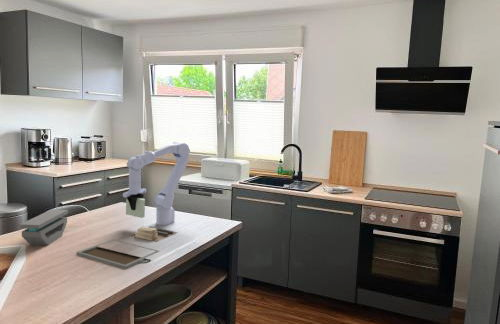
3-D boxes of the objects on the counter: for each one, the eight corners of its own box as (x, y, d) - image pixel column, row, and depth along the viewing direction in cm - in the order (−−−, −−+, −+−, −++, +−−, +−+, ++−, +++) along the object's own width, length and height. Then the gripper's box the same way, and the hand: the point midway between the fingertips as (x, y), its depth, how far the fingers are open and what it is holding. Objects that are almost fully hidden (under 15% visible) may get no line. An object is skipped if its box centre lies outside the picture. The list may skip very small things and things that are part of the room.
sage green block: (128, 213, 190) (129, 195, 189) (144, 217, 186) (145, 199, 185) (125, 214, 189) (126, 196, 187) (141, 217, 185) (142, 199, 183)
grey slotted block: (52, 231, 182) (51, 209, 180) (68, 232, 182) (68, 209, 180) (20, 250, 157) (19, 224, 156) (39, 250, 157) (38, 225, 156)
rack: (151, 229, 190) (151, 224, 190) (178, 234, 183) (178, 230, 183) (128, 238, 176) (128, 233, 176) (156, 244, 169) (156, 239, 169)
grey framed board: (113, 239, 171) (165, 252, 157) (113, 242, 171) (165, 255, 157) (76, 252, 154) (131, 267, 140) (76, 255, 154) (131, 272, 140)
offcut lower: (142, 234, 179) (142, 230, 179) (157, 237, 175) (157, 233, 175) (135, 236, 175) (135, 232, 175) (150, 240, 171) (150, 235, 171)
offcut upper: (142, 230, 178) (142, 226, 177) (156, 233, 175) (156, 228, 175) (137, 233, 174) (137, 229, 174) (151, 235, 171) (151, 231, 171)
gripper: (130, 185, 177) (130, 213, 179) (151, 180, 190) (151, 207, 192) (119, 183, 180) (119, 211, 182) (140, 179, 193) (140, 205, 195)
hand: (135, 209), depth 187 cm, fingers closed on sage green block, 2 cm apart
